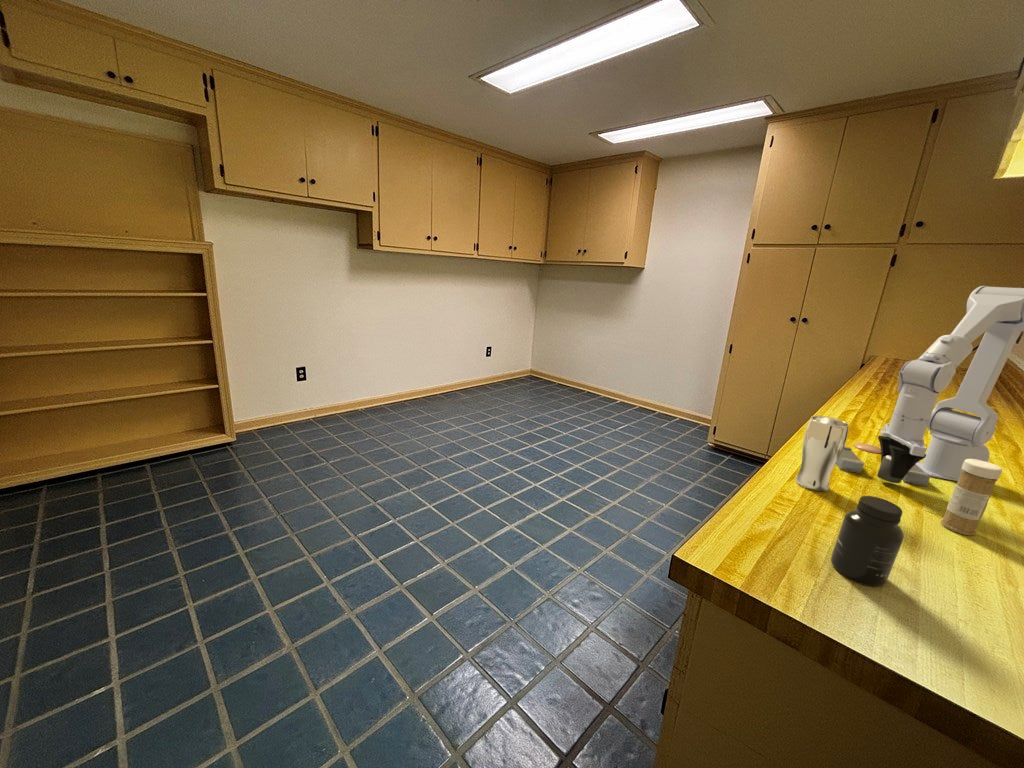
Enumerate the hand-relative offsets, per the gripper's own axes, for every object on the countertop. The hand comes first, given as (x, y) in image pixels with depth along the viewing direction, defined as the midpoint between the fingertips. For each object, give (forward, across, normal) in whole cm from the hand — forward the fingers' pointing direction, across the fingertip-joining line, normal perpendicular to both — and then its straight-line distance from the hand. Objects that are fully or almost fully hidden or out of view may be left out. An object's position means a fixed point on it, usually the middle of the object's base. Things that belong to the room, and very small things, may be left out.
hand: (891, 472), depth 92 cm
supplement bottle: (+3, +40, -17) cm, 44 cm away
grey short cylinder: (+2, 0, 0) cm, 2 cm away
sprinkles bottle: (+3, +16, +5) cm, 17 cm away
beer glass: (+3, +10, -17) cm, 20 cm away
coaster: (+3, -23, +3) cm, 24 cm away
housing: (+3, -8, 0) cm, 8 cm away
